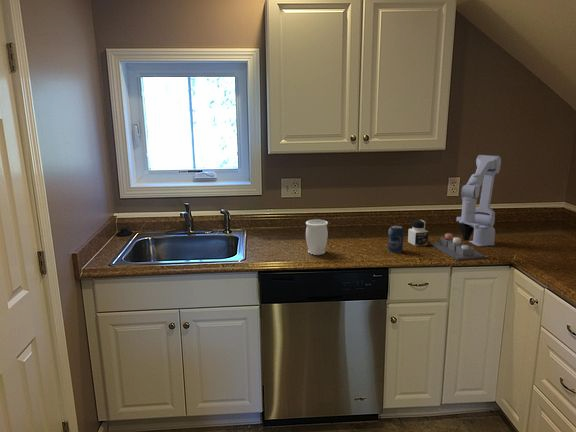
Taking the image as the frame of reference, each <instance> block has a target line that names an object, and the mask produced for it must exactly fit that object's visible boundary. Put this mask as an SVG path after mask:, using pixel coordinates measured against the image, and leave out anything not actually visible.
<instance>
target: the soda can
mask: <svg viewBox="0 0 576 432" xmlns="http://www.w3.org/2000/svg"><path fill="white" fill-rule="evenodd" d="M387 236H388V237H387V250H388V251H389V252H390V253H393V254H398V253H401V252H402V251H403V246H404V228H403V226H401V225H395V224H394V225H390V226H389V228H388V234H387Z"/></svg>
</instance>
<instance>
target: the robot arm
mask: <svg viewBox="0 0 576 432" xmlns="http://www.w3.org/2000/svg"><path fill="white" fill-rule="evenodd" d="M475 164H476V170H475V173H473V174H471V176H470V177H469V179H468V181H467V182H466V184H465V185H463V186H462V187H461V192H460V194H461V202H462V206H461V215H460V216H456V222H458V223H460V224H459V228H460V231H461V234H462V239H463V241H465V242H466V241H468V243H471V244H473V245H475V246H477V247H485V246H486V247H487V246H495V245H496V244H495V239H496V237H495V236H496V229H495V228H494V225H495V220H496V217H495V216H496V212H495V211H494V209H492V208H491V201H492V194H493V190H494V189H493V188H494V181H495V178H496V174H499V173H500V171H501V165H502V157H501V156H500V155H489V154H488V155H487V154H479V155H477V157H476V159H475ZM479 196H480V200H479V205H478V207H477V201H478V200H477V199H478V197H479ZM472 233H473V237H472V240H470V238H471V235H472Z"/></svg>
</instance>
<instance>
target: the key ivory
mask: <svg viewBox="0 0 576 432" xmlns="http://www.w3.org/2000/svg"><path fill="white" fill-rule="evenodd" d="M461 242H462V238H461V237H453V244H455V245H457V244H461Z"/></svg>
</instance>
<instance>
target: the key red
mask: <svg viewBox="0 0 576 432" xmlns="http://www.w3.org/2000/svg"><path fill="white" fill-rule="evenodd" d="M453 235H454V234H453V233H450V232H449V233H448V232H447V233H444V237H445V240H452V238H454V237H453Z"/></svg>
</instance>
